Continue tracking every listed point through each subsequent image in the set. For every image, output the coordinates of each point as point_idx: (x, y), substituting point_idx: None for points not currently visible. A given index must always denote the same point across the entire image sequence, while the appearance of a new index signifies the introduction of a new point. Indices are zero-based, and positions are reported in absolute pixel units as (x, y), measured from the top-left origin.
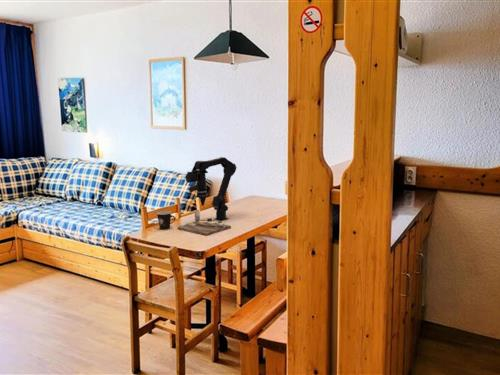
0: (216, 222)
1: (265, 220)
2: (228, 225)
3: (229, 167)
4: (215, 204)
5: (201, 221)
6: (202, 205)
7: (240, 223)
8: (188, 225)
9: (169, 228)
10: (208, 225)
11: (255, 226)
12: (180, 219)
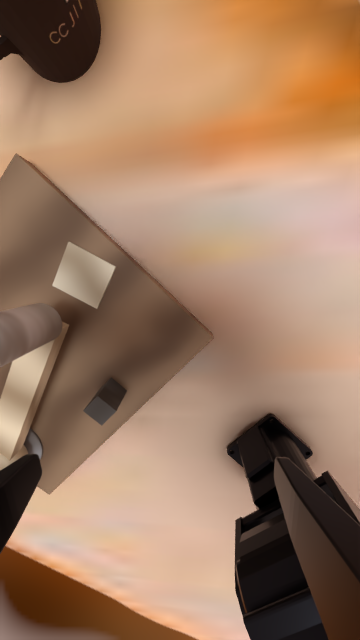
0: (3, 450)
1: (186, 614)
2: (54, 484)
3: None
4: (284, 560)
5: (28, 354)
6: (24, 467)
7: (146, 525)
8: (59, 245)
9: (48, 79)
10: (56, 384)
11: (83, 570)
12: (354, 143)
